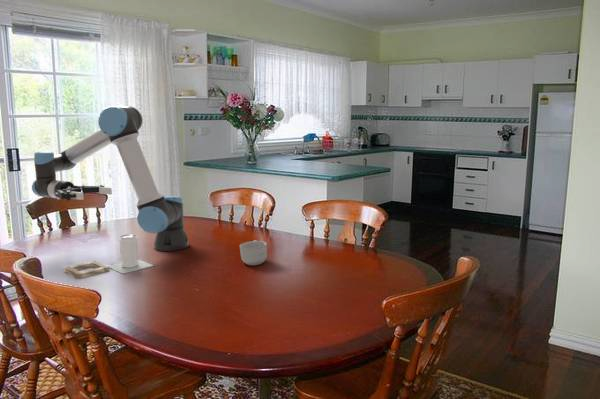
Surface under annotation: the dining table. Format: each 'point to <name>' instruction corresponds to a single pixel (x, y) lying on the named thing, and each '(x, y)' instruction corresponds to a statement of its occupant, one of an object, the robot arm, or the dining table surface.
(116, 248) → the dining table surface
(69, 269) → the holder
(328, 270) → the dining table surface
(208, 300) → the dining table surface
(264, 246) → the teacup
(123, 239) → the can
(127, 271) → the mat
